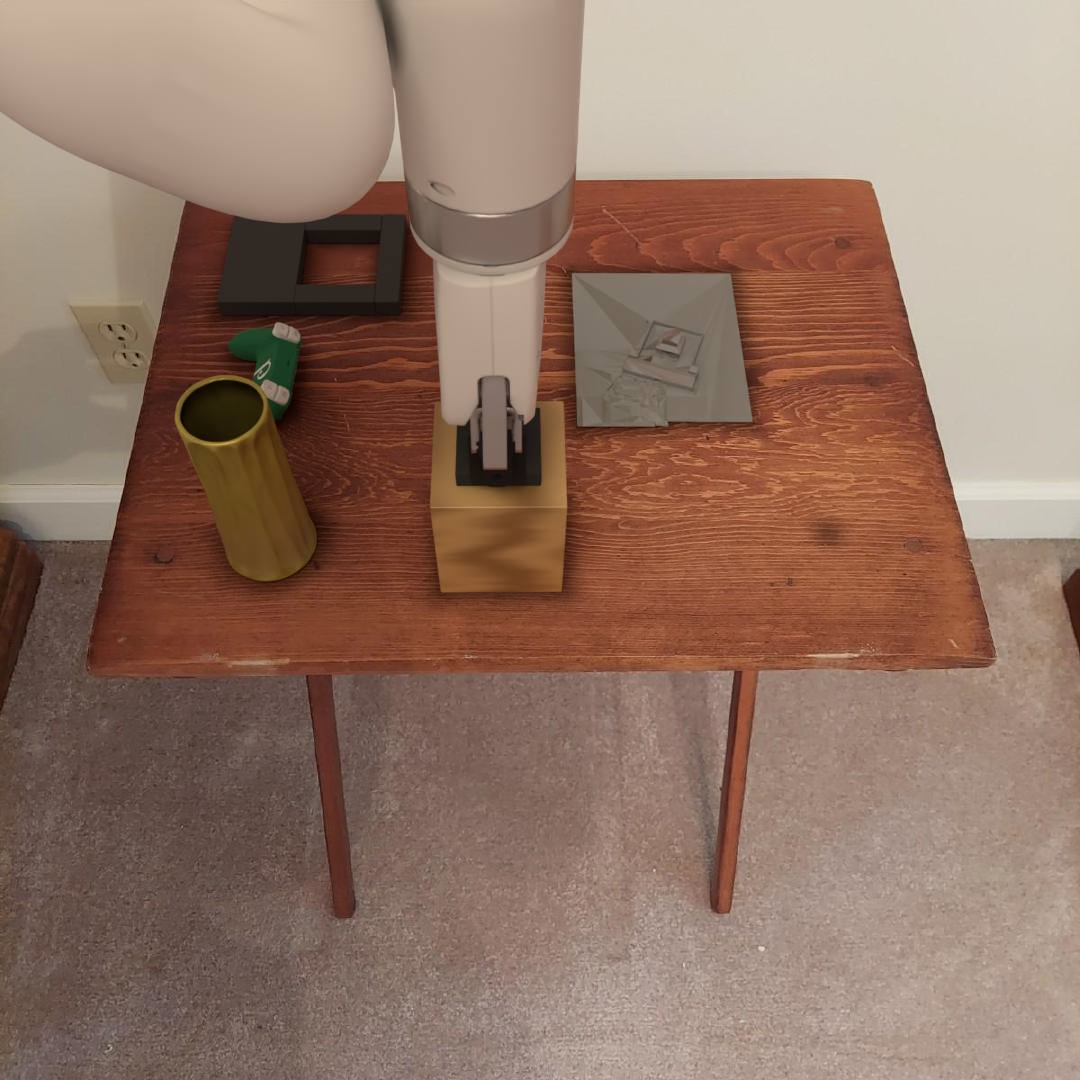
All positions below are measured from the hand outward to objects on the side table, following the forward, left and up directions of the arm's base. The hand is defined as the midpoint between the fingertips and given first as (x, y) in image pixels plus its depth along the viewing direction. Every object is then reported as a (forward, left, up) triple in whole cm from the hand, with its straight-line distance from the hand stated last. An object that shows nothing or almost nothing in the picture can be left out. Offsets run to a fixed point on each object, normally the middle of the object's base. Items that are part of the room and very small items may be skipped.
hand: (498, 439), depth 62 cm
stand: (0, 0, -11) cm, 11 cm away
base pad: (-15, +26, -11) cm, 32 cm away
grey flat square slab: (+14, +13, -11) cm, 22 cm away
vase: (-16, 0, -11) cm, 19 cm away
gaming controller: (-18, +13, -11) cm, 25 cm away
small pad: (0, 0, -1) cm, 1 cm away
